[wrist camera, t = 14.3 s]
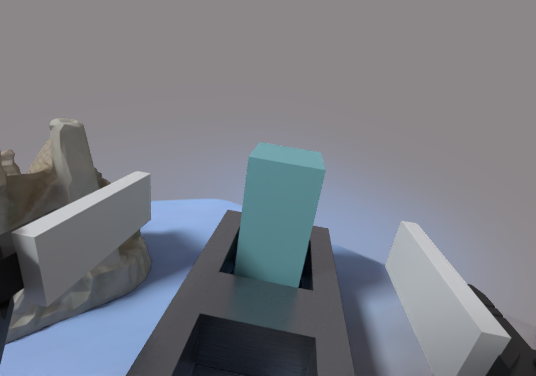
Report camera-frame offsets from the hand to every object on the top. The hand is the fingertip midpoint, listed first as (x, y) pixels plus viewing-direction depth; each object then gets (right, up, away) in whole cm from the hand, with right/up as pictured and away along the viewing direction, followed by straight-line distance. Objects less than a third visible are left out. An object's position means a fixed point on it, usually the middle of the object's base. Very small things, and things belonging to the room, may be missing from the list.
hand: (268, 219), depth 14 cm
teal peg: (0, -7, +8) cm, 11 cm away
